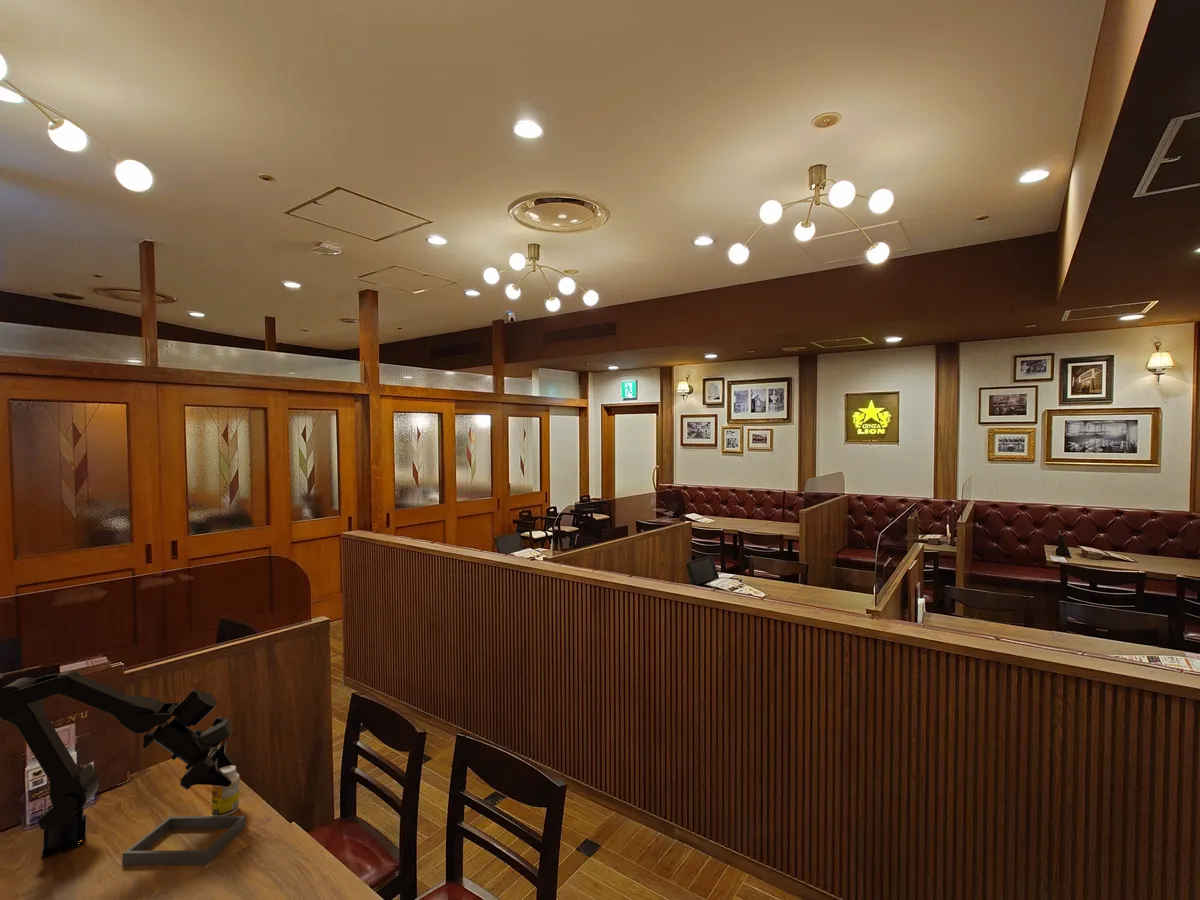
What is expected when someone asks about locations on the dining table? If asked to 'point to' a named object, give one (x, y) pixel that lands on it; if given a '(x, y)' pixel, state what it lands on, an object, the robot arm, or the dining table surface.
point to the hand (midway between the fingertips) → (232, 778)
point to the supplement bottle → (226, 794)
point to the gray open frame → (184, 857)
